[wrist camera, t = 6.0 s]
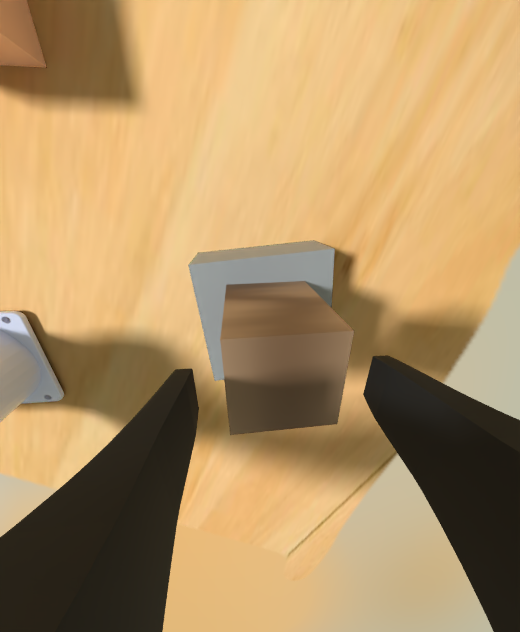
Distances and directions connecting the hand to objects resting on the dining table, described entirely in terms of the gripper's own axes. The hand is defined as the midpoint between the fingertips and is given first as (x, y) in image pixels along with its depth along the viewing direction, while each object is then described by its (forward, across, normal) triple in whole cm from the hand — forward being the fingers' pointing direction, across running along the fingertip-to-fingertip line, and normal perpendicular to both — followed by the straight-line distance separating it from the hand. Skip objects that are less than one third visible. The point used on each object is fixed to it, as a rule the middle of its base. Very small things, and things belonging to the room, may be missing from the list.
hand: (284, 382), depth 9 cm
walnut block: (+5, 0, 0) cm, 5 cm away
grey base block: (+9, 0, 0) cm, 9 cm away
